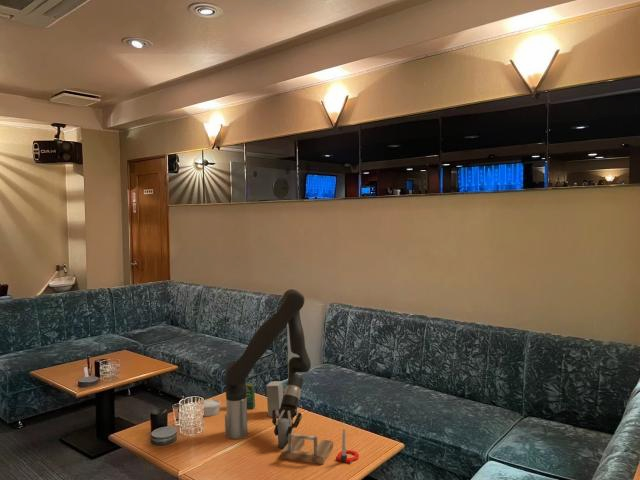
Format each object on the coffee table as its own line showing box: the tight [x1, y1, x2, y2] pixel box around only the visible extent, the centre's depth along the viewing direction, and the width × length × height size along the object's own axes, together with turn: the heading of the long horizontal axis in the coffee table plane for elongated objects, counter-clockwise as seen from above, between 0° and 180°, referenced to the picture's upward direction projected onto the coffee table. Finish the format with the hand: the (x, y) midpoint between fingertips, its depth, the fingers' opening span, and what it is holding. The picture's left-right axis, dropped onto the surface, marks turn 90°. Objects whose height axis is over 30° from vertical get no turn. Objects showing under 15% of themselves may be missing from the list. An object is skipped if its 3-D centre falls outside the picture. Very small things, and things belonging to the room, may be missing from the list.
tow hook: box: [335, 428, 360, 464], centre depth 188 cm, size 8×13×9 cm
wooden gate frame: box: [281, 433, 334, 465], centre depth 191 cm, size 18×14×10 cm
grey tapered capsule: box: [277, 418, 289, 449], centre depth 198 cm, size 5×5×11 cm
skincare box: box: [265, 380, 284, 418], centre depth 233 cm, size 8×7×16 cm
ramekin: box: [203, 398, 221, 417], centre depth 236 cm, size 11×11×5 cm
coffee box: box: [246, 382, 256, 410], centre depth 242 cm, size 8×3×13 cm, turn 72°
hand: (281, 435), depth 196 cm, fingers closed on grey tapered capsule, 4 cm apart
